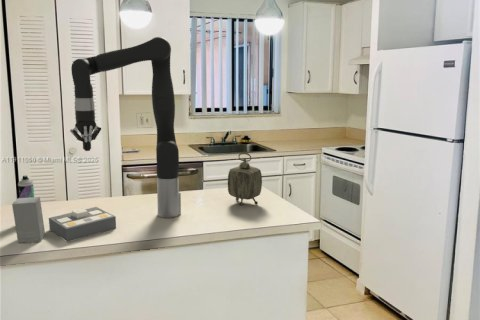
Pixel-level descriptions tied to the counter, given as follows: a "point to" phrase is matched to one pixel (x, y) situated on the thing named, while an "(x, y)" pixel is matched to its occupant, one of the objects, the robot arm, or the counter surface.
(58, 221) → the button
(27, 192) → the spray can
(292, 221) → the counter surface
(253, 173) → the tabletop clock
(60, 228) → the button panel
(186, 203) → the counter surface
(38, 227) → the skincare box
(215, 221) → the counter surface
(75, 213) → the middle button
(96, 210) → the button
